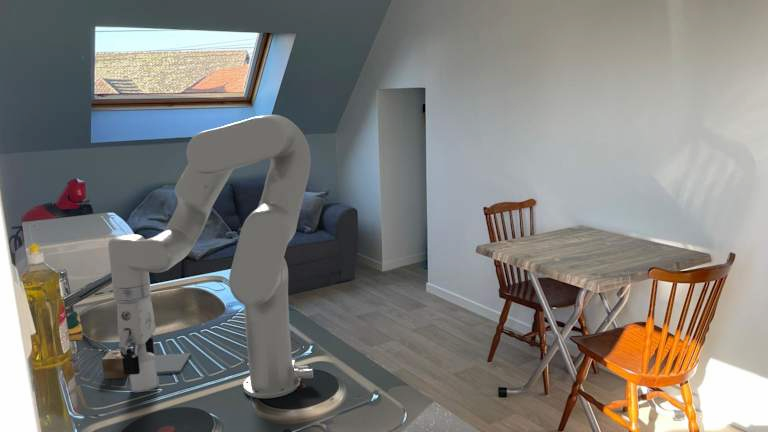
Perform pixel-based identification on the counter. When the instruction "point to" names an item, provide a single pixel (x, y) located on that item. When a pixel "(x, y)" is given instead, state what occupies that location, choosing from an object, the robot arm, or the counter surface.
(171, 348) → the counter surface
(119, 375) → the walnut cube
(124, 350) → the robot arm
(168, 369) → the slate mat
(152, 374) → the eye dropper bottle
